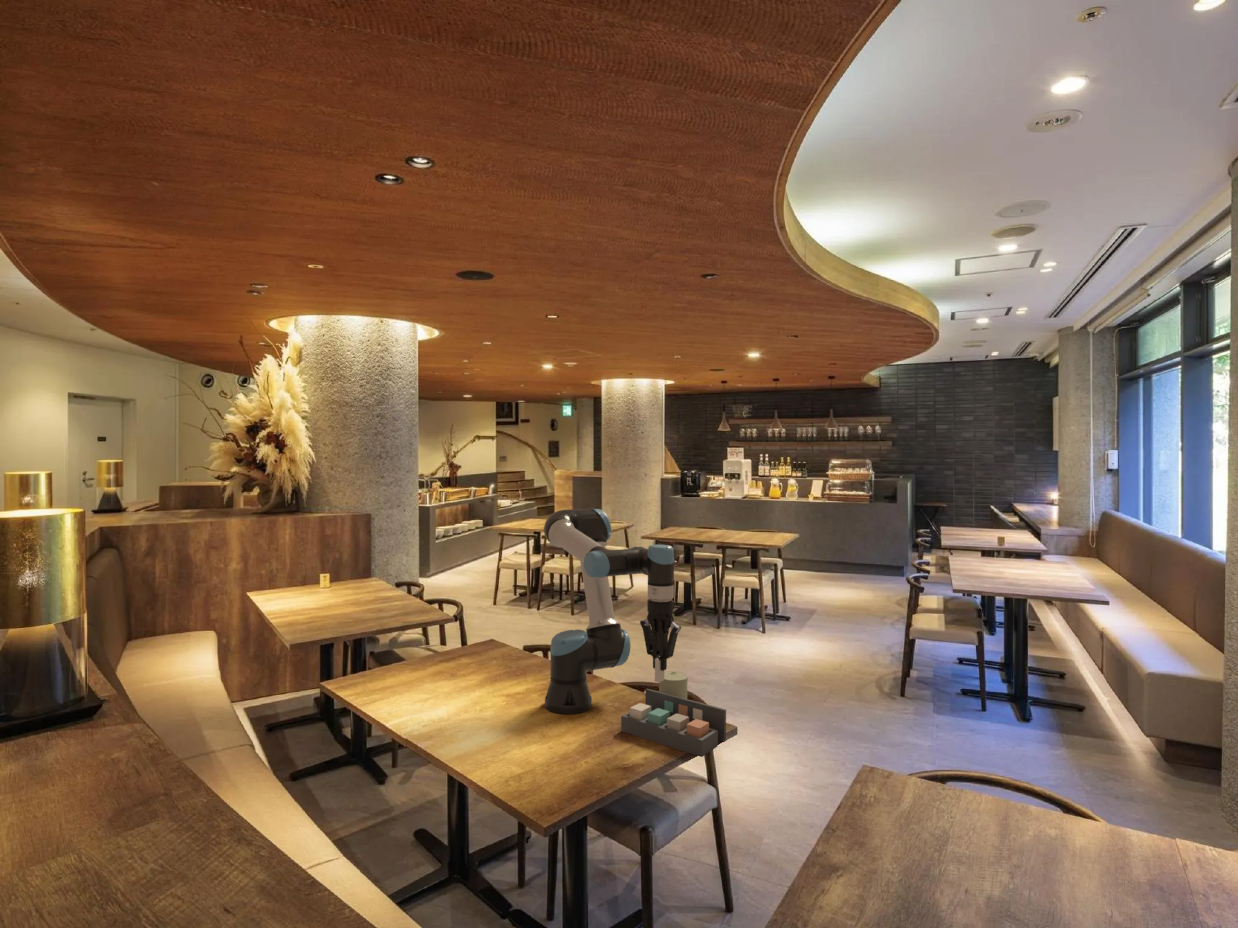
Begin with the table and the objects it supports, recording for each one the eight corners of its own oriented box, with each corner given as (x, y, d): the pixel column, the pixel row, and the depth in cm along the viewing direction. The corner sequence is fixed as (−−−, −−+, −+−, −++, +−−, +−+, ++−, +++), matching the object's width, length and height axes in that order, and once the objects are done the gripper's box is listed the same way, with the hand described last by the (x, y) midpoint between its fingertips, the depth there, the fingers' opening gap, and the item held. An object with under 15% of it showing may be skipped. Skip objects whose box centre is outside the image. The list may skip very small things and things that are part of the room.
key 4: (686, 738, 189) (686, 724, 189) (695, 732, 193) (696, 718, 193) (699, 742, 187) (699, 728, 186) (708, 736, 190) (709, 722, 190)
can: (687, 707, 220) (688, 670, 220) (687, 718, 211) (688, 679, 211) (658, 705, 221) (659, 668, 221) (657, 716, 212) (658, 678, 212)
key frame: (621, 730, 201) (621, 715, 201) (638, 721, 207) (638, 707, 207) (701, 756, 184) (702, 740, 184) (717, 746, 191) (717, 730, 191)
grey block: (666, 732, 193) (667, 718, 193) (676, 726, 197) (676, 713, 197) (679, 736, 190) (679, 722, 190) (688, 730, 194) (689, 716, 194)
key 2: (647, 726, 197) (648, 712, 197) (657, 721, 201) (657, 707, 201) (660, 730, 194) (660, 716, 194) (669, 724, 198) (669, 711, 198)
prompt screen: (644, 718, 210) (645, 689, 210) (647, 717, 211) (647, 688, 211) (723, 742, 194) (724, 710, 193) (725, 740, 195) (726, 709, 194)
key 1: (629, 721, 201) (629, 707, 201) (639, 716, 205) (639, 702, 205) (641, 724, 198) (641, 710, 198) (651, 719, 202) (651, 706, 202)
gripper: (634, 598, 198) (633, 679, 198) (672, 604, 190) (671, 688, 190) (649, 593, 204) (648, 672, 204) (686, 599, 196) (685, 681, 196)
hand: (659, 680), depth 197 cm, fingers closed
